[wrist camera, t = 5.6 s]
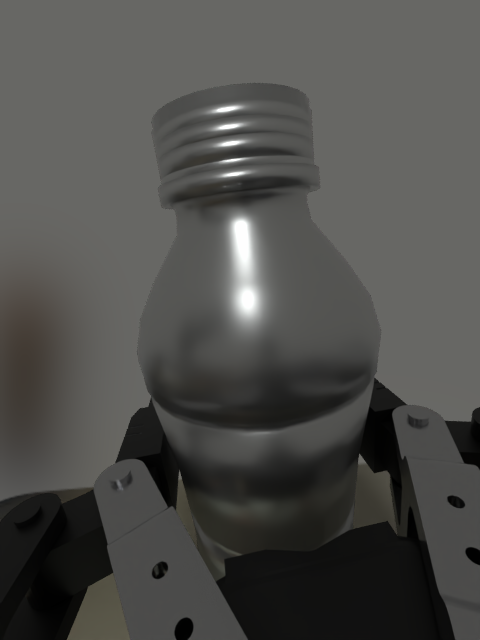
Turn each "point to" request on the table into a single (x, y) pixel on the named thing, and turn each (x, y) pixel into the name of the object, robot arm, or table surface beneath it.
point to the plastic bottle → (255, 328)
